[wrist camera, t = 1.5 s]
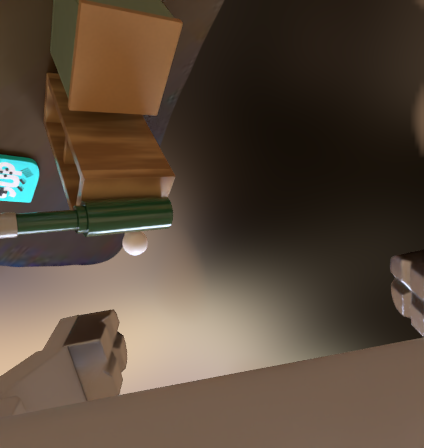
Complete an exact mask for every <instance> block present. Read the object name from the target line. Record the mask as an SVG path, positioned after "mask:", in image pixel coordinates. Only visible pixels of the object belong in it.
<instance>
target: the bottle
mask: <svg viewBox="0 0 424 448" xmlns="http://www.w3.org/2000/svg"><path fill="white" fill-rule="evenodd" d="M172 220H173V210H172V205H171V202H170V200H169V199H168V198H167V197H166V196H161V197H144V198H126V199H109V200H91V201H82V202H81V204H80V205H77V206H74V207H73V210H64V211H50V212H35V213H21V214H15V212H9V213H0V239H1V238H11V237H17V235H24V234H35V233H45V232H56V231H67V230H75V232H76V233H77V234H79V233H83V234H84V236H85V237H90V236H99V235H109V234H118V233H128V232H137V231H146V230H156V229H166V228H169V227H170V226H171V224H172Z"/></svg>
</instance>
